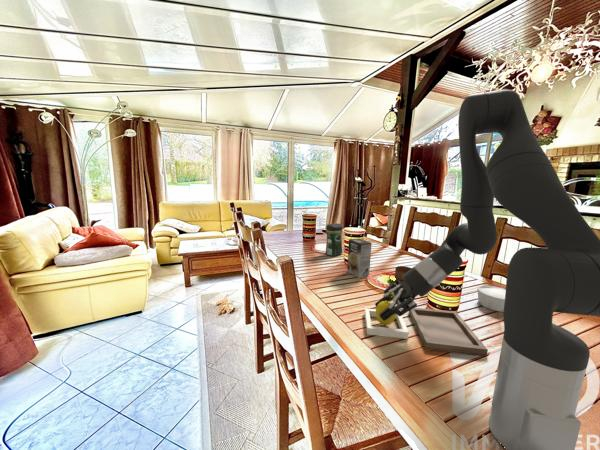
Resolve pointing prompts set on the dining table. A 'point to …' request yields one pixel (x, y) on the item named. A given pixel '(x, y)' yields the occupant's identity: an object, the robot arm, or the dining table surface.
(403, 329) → the holder frame
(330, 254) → the coffee jar
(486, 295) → the ramekin
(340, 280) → the dining table surface
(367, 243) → the coffee box
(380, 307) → the lemon
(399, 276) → the cup and saucer
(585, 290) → the robot arm
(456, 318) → the walnut tray
